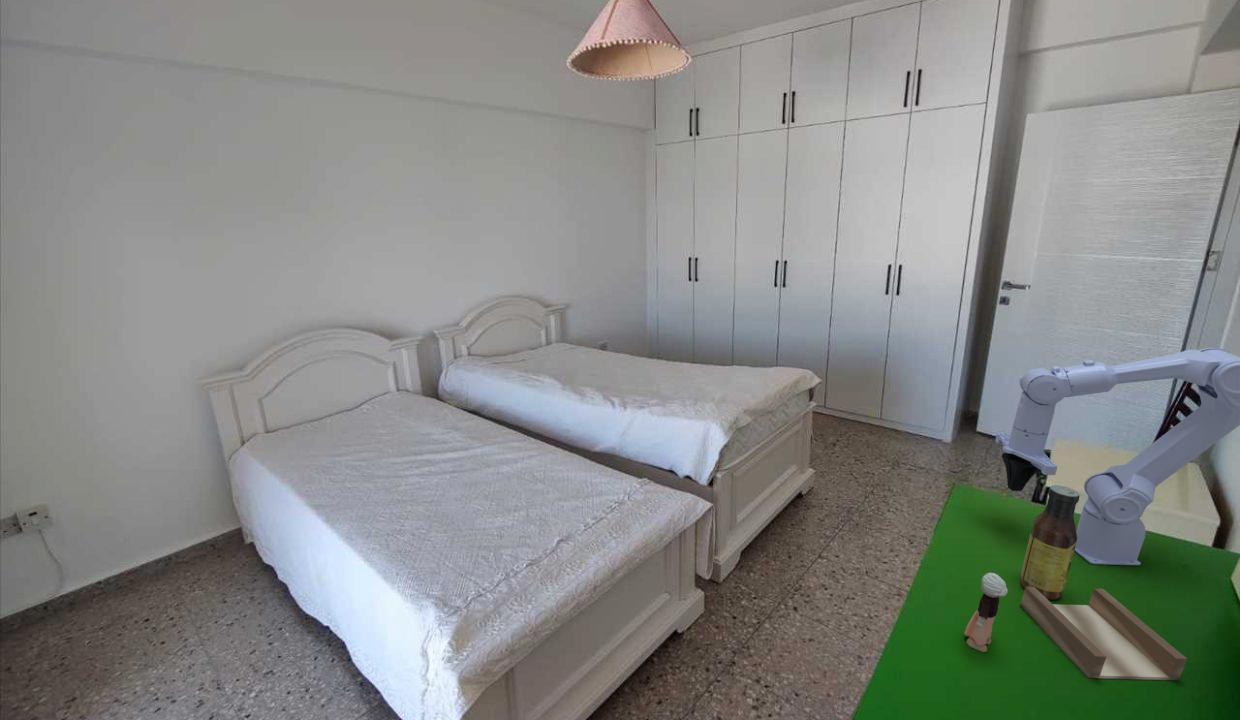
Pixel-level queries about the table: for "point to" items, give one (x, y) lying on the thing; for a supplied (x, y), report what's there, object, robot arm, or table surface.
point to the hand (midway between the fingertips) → (1014, 489)
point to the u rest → (1105, 638)
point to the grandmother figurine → (985, 612)
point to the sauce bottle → (1052, 544)
